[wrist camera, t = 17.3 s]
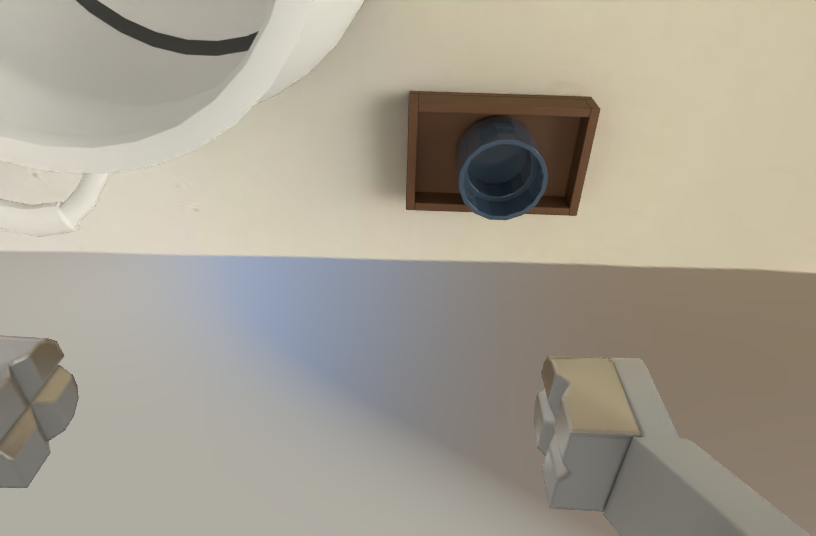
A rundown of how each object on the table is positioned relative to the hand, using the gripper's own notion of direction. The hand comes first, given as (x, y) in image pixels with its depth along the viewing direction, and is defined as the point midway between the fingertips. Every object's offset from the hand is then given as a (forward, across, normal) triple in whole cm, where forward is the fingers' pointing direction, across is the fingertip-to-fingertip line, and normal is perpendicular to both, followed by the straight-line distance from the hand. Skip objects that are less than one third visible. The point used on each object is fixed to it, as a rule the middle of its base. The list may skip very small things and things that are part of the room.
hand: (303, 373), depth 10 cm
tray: (+31, -7, +9) cm, 33 cm away
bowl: (+30, -7, +9) cm, 33 cm away
